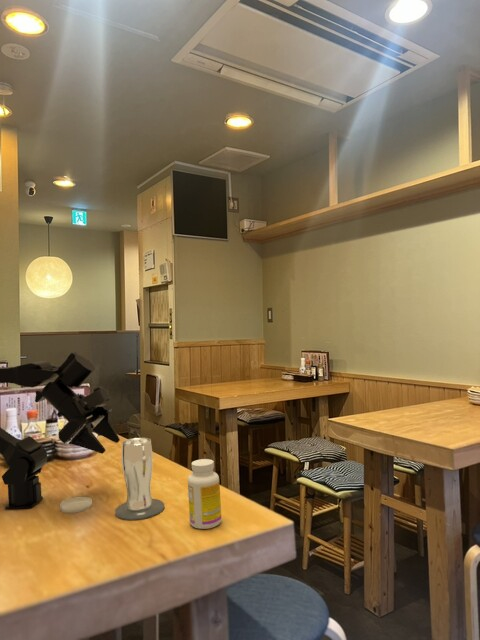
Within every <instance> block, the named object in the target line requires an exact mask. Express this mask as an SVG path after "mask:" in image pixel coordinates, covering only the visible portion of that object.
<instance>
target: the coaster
mask: <svg viewBox="0 0 480 640" xmlns="http://www.w3.org/2000/svg"><path fill="white" fill-rule="evenodd" d="M152 501H153V506H152V507H151V508H149V509H147V510H144V511H137V512H133V511H129V510H127V509H126V502H123V503H121V504H120V505H118V506H116V507H115V510H114V515H115V517H116V518H118V519H120V520H124V521H141V520H147V519H151V518H154V517H156V516H158V515H160V514H161V513H162V512H164V510H165V503H164V502H163V501H162V500H160V499H157V498H152Z"/></svg>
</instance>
